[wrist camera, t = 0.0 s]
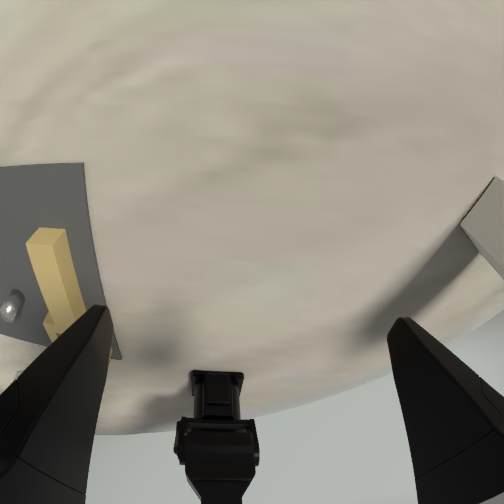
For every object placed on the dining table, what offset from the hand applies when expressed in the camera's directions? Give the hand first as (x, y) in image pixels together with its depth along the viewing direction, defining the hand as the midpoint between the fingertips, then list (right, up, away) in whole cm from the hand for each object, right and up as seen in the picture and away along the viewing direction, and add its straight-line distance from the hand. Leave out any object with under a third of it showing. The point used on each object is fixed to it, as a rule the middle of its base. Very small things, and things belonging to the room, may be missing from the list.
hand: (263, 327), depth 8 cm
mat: (-27, 0, +16) cm, 31 cm away
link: (-19, -3, +17) cm, 26 cm away
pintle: (-27, -3, +17) cm, 32 cm away
